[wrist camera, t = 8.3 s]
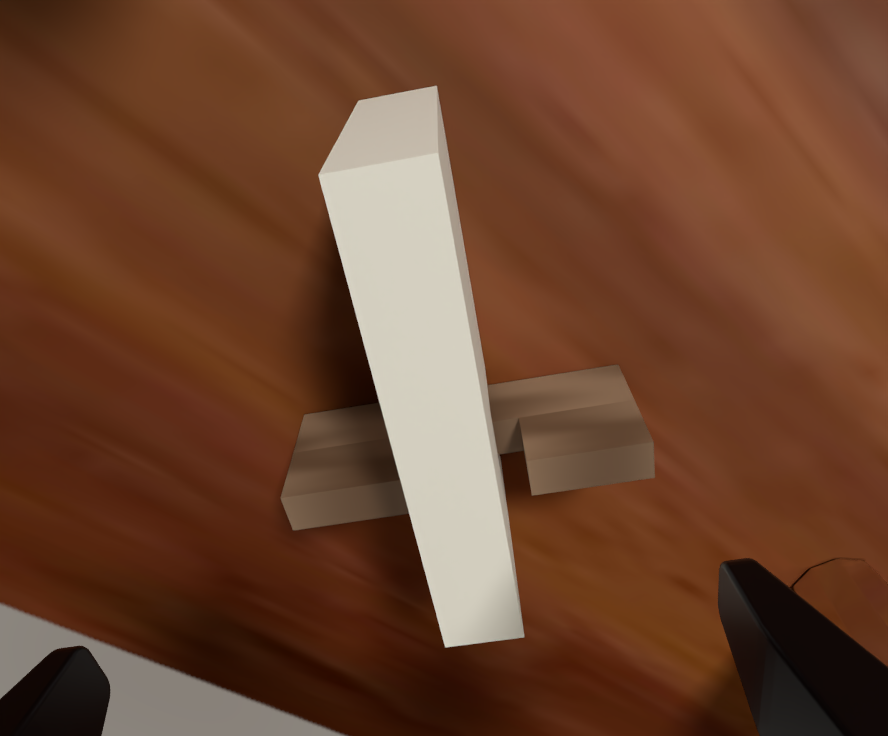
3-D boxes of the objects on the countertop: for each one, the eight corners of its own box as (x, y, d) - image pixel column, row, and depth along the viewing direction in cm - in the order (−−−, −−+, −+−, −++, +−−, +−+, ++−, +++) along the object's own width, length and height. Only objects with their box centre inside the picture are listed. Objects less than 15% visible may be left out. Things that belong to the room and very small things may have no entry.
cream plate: (500, 461, 23) (524, 637, 17) (442, 470, 23) (445, 647, 17) (436, 85, 17) (438, 153, 11) (358, 100, 17) (318, 174, 11)
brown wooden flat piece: (314, 444, 23) (293, 530, 19) (304, 414, 22) (280, 497, 19) (620, 396, 22) (654, 477, 19) (618, 364, 21) (653, 441, 18)
